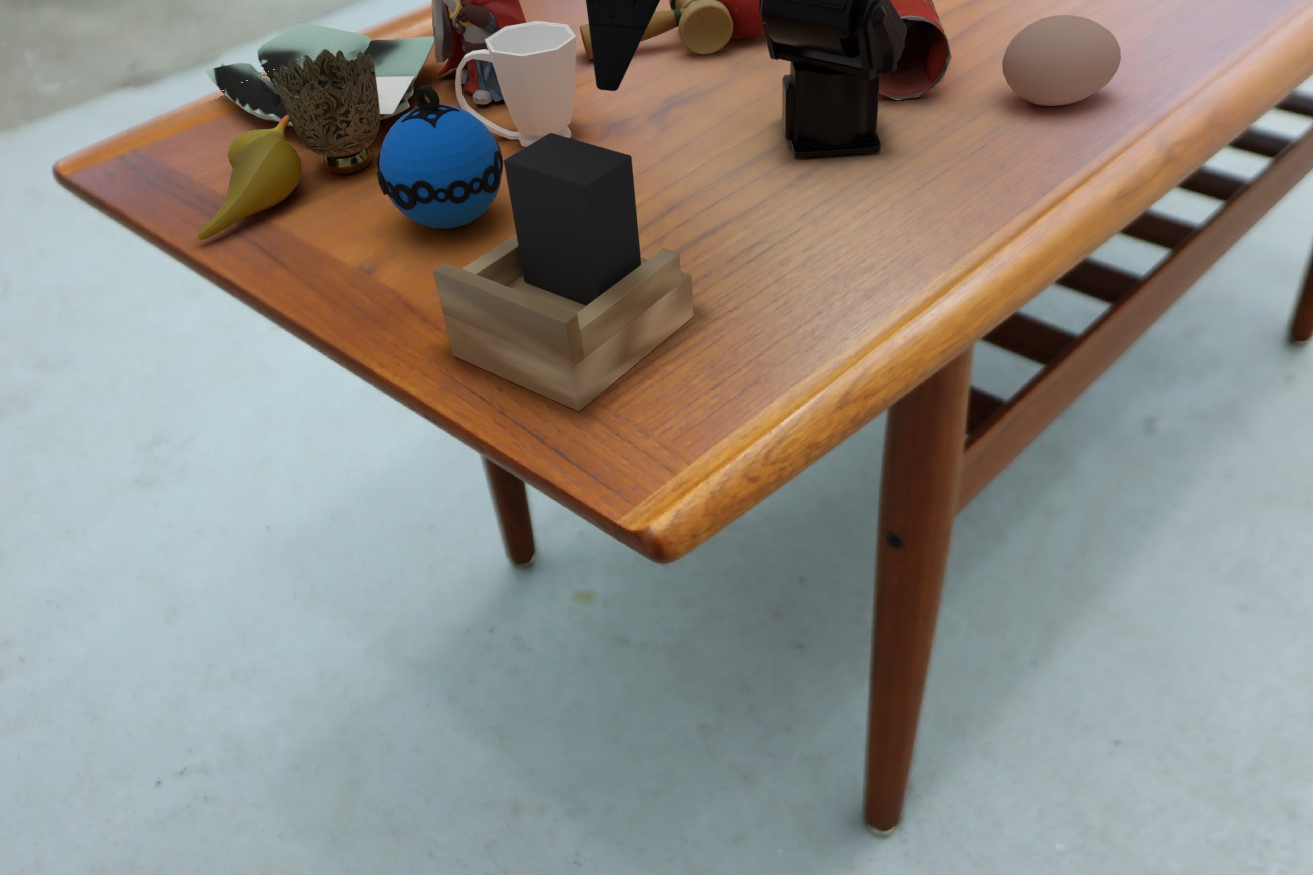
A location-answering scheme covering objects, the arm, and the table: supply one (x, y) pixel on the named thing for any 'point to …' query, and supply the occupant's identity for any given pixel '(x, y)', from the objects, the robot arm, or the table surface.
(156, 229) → the table surface
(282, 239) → the table surface
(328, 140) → the cup
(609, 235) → the black rectangular block
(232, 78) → the cloth
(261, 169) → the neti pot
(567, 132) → the cup
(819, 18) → the robot arm
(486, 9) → the figurine
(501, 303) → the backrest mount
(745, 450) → the table surface
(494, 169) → the ornament
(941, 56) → the beverage can
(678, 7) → the kendama
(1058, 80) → the egg
